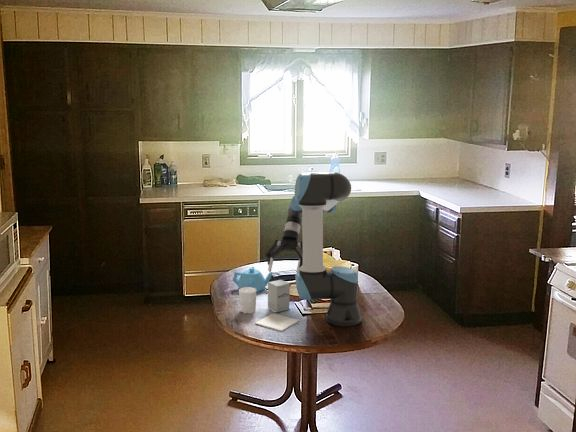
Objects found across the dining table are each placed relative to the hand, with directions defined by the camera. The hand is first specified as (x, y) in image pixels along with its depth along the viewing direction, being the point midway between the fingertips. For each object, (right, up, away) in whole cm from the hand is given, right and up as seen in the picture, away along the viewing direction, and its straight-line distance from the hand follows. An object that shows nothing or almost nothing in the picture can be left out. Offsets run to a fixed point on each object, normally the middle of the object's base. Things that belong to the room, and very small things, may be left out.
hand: (283, 272), depth 288 cm
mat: (-3, -20, -22) cm, 30 cm away
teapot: (-16, -10, +21) cm, 28 cm away
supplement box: (-2, -16, -6) cm, 17 cm away
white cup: (-16, -17, -8) cm, 25 cm away
